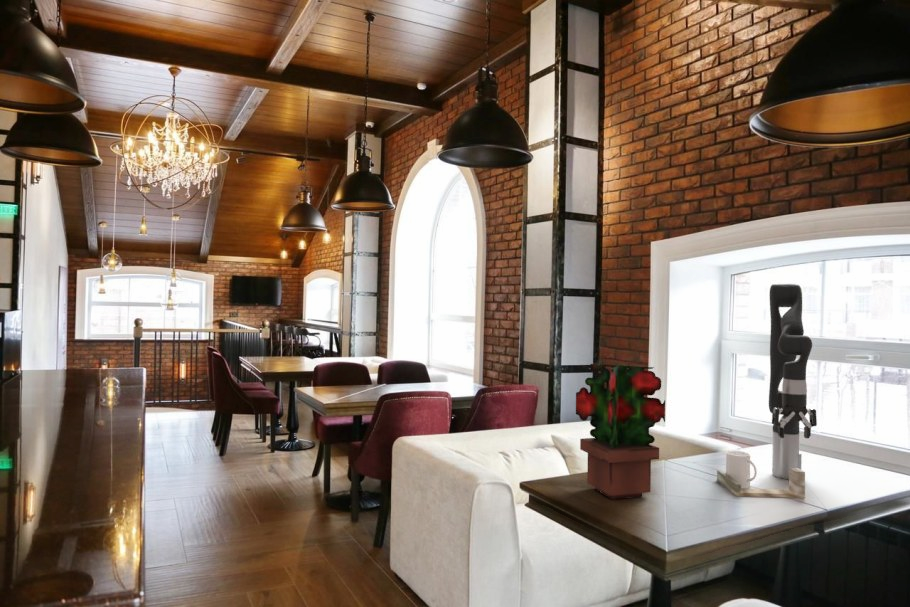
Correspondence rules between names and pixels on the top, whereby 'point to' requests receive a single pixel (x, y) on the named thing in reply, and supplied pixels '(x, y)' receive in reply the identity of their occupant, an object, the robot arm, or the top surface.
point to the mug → (739, 467)
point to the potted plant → (620, 428)
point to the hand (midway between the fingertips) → (794, 437)
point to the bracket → (794, 489)
